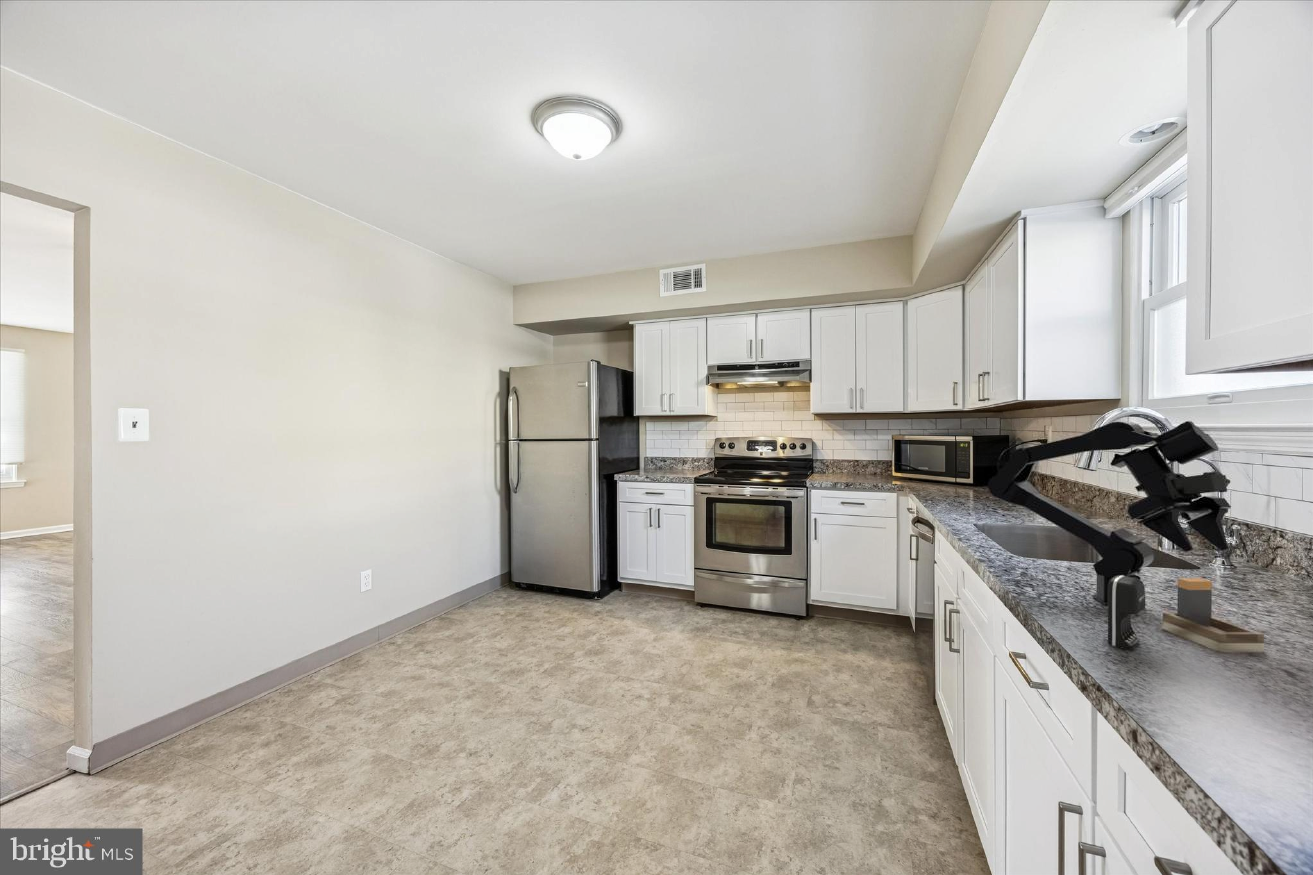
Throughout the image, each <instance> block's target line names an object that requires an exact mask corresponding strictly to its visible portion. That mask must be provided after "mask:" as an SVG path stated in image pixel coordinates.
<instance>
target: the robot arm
mask: <svg viewBox="0 0 1313 875" xmlns="http://www.w3.org/2000/svg"><path fill="white" fill-rule="evenodd" d="M1145 445H1146V446H1148V445H1149V446H1148V447H1145V448H1143V449H1140V448H1139V446H1145ZM1137 447H1138V448H1137ZM1127 449H1133V450H1130V451H1128V452H1126V453H1124V454H1119V453H1114V454H1113V455H1114V456H1113V459H1112V460H1111V462H1110V465H1111V466H1112V467H1115V468H1119V469H1122V468H1124V467H1127V469H1128V471H1129V472H1130V473H1131V475H1132V477H1133V478H1134V479H1135V481H1136V482H1137V483H1138V485H1136V486H1135V487H1134V488H1135V490H1137V492H1143V493H1144V494H1145V495H1146V496H1145V497H1143V498H1141V499H1139V500H1137V501H1135V502H1133V503H1130V504H1129V505H1127V508H1126V514H1127V515H1128V517H1129V519H1130V520H1131V521H1132V522H1133V521H1134V522H1137V521H1138V523H1139V525H1142V526H1144V527H1146V528H1148V529H1149V530H1151V531H1153V532H1155V533H1156V534H1158V535H1160V536H1161V537H1162V538H1165V539H1166V540H1168V541H1169V542H1170V543H1171V544H1174V545H1175V546H1177V547H1178V548H1179V549H1181V550H1182V551H1185V552H1186V553H1187V552H1190V551H1193V550H1194V547H1193V546H1192V543H1191V541H1190V540H1189V538H1188V535H1187V533H1186V532H1185V531H1184V529H1183V526H1182V525H1181V523H1180V521H1179V517H1180V515H1181V517H1182V518H1183V519H1184V520H1186V522H1185V523H1186V524H1187V526H1189V527H1190V528H1192V530H1194V531H1196V532H1197V533H1198V534H1199V535H1200V536H1202V537H1203V538H1204V539H1205V540H1206V541H1208V542H1209V543H1210V544H1211V545H1212V546H1214V547H1215V548H1216V549H1218V550H1219V551H1221V552H1225V551H1228V550H1229V545H1228V542H1227V537H1226V534H1225V532H1224V531H1225V530H1224V527H1223V522H1222V521H1223V519H1224V517H1225V515H1226V514H1228V513H1229V509H1231V508H1232V506H1231V505H1230V503H1229V502H1228V501H1227V500H1226V498H1225V497H1221V496H1216V495H1215V496H1213V495H1212V496H1211V495H1210V496H1209V495H1205V496H1202V494H1206V493H1207V494H1209V493H1218V492H1219V493H1227V492H1228V486H1229V484H1231V480H1230V479H1227V475H1226V474H1223V473H1222V472H1220V471H1219V470H1218V471H1216V470H1212V471H1211V472H1209V471H1207V472H1206V471H1205V472H1203V473H1202V474H1198V475H1188V476H1186V475H1185V474H1183V473H1175V471H1174V470H1173V469H1172V467H1171V466H1170V465H1169V464H1168V462H1169V463H1170V464H1173V463H1178V464H1180V465H1182V466H1183V465H1186V464H1188V463H1190V462H1193V461H1195V460H1197V459H1200V458H1202V457H1205V456H1207V455H1210V454H1212V453H1215V452H1217V451H1219V446H1218V445H1217V444H1216V442H1215V440H1214V439H1213V438H1212V437H1211V436H1210V435H1209V433H1206V432H1204V431H1203V430H1202V429H1201V427H1199V426H1197V425H1196V424H1195V423H1194V422H1193V420H1192V421H1191V420H1190V421H1189V420H1186V421H1184V422H1182V423H1180V424H1179V425H1177V426H1176V427H1173V428H1172V429H1169V430H1167V431H1166V432H1163V433H1161V434H1159V433H1157V432H1151V431H1147V430H1144V428H1143V427H1142V426H1141V425H1139V423H1136V422H1134V421H1113V422H1109V423H1107V424H1104V425H1102V426H1099V427H1096V428H1094V429H1091V430H1090V431H1088V432H1086V433H1083V434H1080V435H1077V436H1072V437H1067V438H1064V439H1060V440H1054V441H1051V442H1050V441H1049V442H1046V443H1042V444H1038V445H1033V446H1029V447H1019V448H1017V449H1015V450H1014V452H1013V453H1012V455H1011V456H1010V458H1008V460H1007V461H1006V462H1005V463H1004V464H1003V466H1001V467H1000V468H999V470H998V471H997V473H996V474H995V475H994V476H992V477H991V478H990V479H989V480H988V483H987V489H988V493H990V495H991V496H993V498H997V499H999V500H1001V501H1004V502H1006V503H1008V504H1013V505H1017V506H1020V507H1022V508H1023V507H1024V508H1025V509H1027V510H1029V511H1031V512H1033V513H1035V514H1037V515H1038V516H1039V517H1042V518H1043V519H1045V520H1047V521H1048V522H1050V523H1051V524H1053V525H1055V526H1057V527H1058V528H1060V529H1062V530H1064V531H1066V532H1068V533H1069V534H1071V535H1073V536H1074V537H1075V538H1076V537H1077V538H1078V539H1080V540H1081V541H1083V542H1085V543H1086V544H1088V545H1089V546H1091V547H1092V549H1093V550H1094V551H1095V552H1096V553H1097V554H1098V556H1099V557H1101V558H1102V559H1100V560H1098V561H1096V562H1095V563H1093V564H1092V566H1093V568H1094V571H1095V573H1096V593H1095V594H1092V596H1091V597H1092V598H1093V599H1095V600H1097V601H1098V602H1100V603H1102V604H1104V605H1105V606H1107V607H1108V584H1109V581H1110V580H1111V579H1112V578H1113V577H1115V576H1117V575H1120V576H1121V575H1123V576H1126V577H1132V578H1137V579H1139V580H1141V576H1139V575H1137V574H1140V572H1141V571H1142V570H1143V568H1145V567H1147V566H1150V564H1152V563H1153V561H1154V558H1155V556H1154V552H1153V549H1152V547H1151V546H1150V545H1149V544H1147V543H1146V542H1144V541H1146V538H1143V537H1139V536H1137V535H1134V534H1133V533H1132V532H1130V531H1128V530H1127V529H1126V528H1124V527H1121V528H1119V529H1115V530H1109V529H1106V528H1104V527H1102V526H1100V525H1098V524H1096V523H1094V522H1092V521H1091V520H1089V519H1087V518H1085V517H1083V516H1082V515H1080V514H1078V513H1076V512H1074V511H1072V510H1070V509H1069V508H1067V507H1065V506H1063V505H1062V504H1060V503H1058V502H1056V501H1054V500H1052V499H1051V498H1049V497H1047V496H1045V495H1043V494H1041V493H1040V492H1038V490H1037V489H1036V487H1034V486H1033V485H1032V484H1031V482H1029V481H1028V480H1029V478H1030V477H1031V474H1032V471H1033V469H1034V466H1035V465H1036V464H1037V463H1038V462H1043V461H1049V460H1052V459H1053V460H1054V459H1057V458H1062V457H1063V458H1064V457H1068V456H1073V455H1077V454H1078V455H1079V454H1083V453H1087V452H1097V451H1099V452H1100V451H1115V450H1117V451H1118V450H1127ZM1166 460H1167V461H1168V462H1167V461H1166ZM1144 609H1146V607H1145V608H1144ZM1144 609H1143V610H1144Z"/></svg>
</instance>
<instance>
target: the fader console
mask: <svg viewBox="0 0 1313 875" xmlns="http://www.w3.org/2000/svg"><path fill="white" fill-rule="evenodd" d="M1162 630H1165V631H1168V632H1169V633H1172V634H1174V635H1176V636H1180V637H1182V638H1184V639H1187V640H1189V641H1192V642H1194V643H1196V644H1200V645H1201V644H1202V646H1204V645H1205V646H1204V647H1206V648H1208V647H1210V648H1209V649H1211V648H1212V649H1211V650H1213V649H1215V650H1214V651H1216V650H1217V651H1216V652H1218V651H1220V652H1219V653H1226V652H1225V651H1231V652H1230V653H1264V650H1265V649H1264V648H1265V647H1264V645H1265V641H1264V640H1265V638H1264V637H1265V634H1264V633H1261V632H1259V631H1255V630H1253V629H1249V628H1247V627H1244V626H1242V625H1238V624H1236V623H1233V622H1230V621H1227V620H1225V619H1221V618H1219V617H1216V616H1214V615H1213V616H1212V615H1211V626H1203V625H1200V624H1198V623H1195V622H1192V621H1190V620H1187V619H1184V618H1182V617H1179V616H1177V612H1162Z"/></svg>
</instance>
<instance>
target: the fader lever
mask: <svg viewBox="0 0 1313 875" xmlns="http://www.w3.org/2000/svg"><path fill="white" fill-rule="evenodd" d="M1212 586H1213V582H1212V580H1208V579H1204V578H1202V577H1198V578H1197V577H1196V578H1195V577H1193V578H1192V577H1186V578H1185V577H1183V578H1182V577H1181V578H1179V577H1178V578H1177V610H1176V611H1177V612H1176V613H1177V616H1179V617H1182V618H1184V619H1187V620H1190V621H1192V622H1195V623H1198V624H1200V625H1203V626H1211V616H1212V614H1213V613H1212V612H1213V611H1212V608H1213V607H1212V600H1213V598H1212V596H1213V591H1212V590H1213V587H1212Z"/></svg>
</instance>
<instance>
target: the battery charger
mask: <svg viewBox="0 0 1313 875" xmlns="http://www.w3.org/2000/svg"><path fill="white" fill-rule="evenodd" d="M1144 608H1145V609H1146V589H1145V584H1144V582H1143V581H1142V580H1141V579H1140V580H1139V579H1137V578H1132V577H1126V576H1123V575H1121V576H1120V575H1117V576H1115V577H1113V578H1112V579H1111V580H1110V581H1109V584H1108V606H1107V644H1108V645H1109V646H1112V647H1115V648H1117V647H1118V648H1121V649H1126V650H1133V649H1134V648H1135V647H1136V646H1137V645H1138V644H1139V643H1140V640H1141V638H1140V637H1139V636H1137V634H1136V632H1135V631H1134V629H1133V627H1132V618H1131V617H1132V616H1134V615H1136V616H1137V615H1138V614H1139V613H1141V612H1142V611H1143V610H1144Z"/></svg>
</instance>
